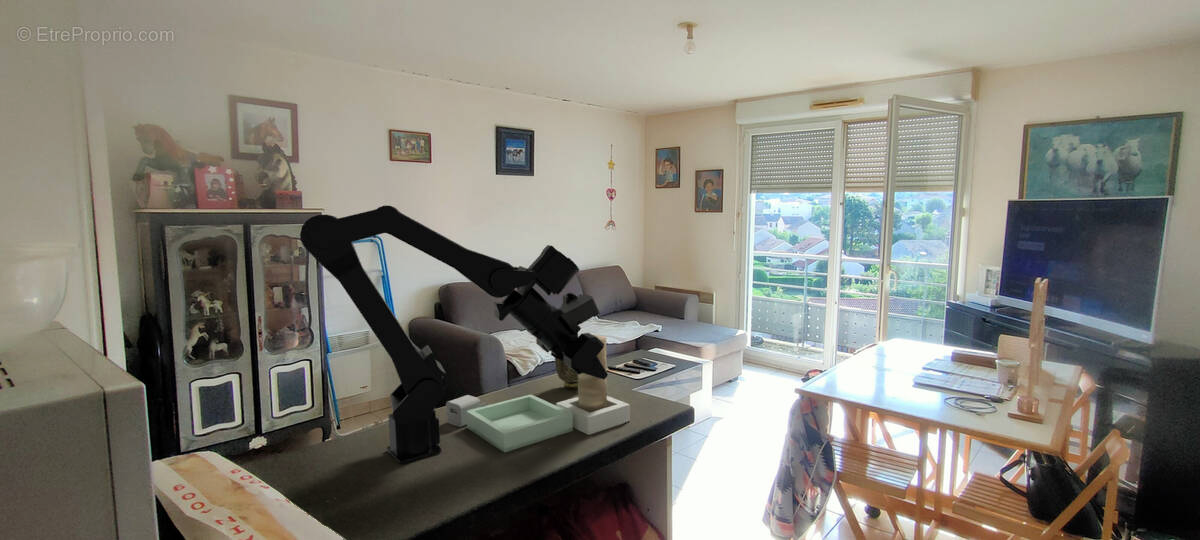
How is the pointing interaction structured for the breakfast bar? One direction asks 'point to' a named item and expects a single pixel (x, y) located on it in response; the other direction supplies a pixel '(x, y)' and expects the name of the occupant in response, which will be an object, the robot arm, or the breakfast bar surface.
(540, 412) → the pale green tray
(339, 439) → the breakfast bar surface
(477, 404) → the usb wall charger
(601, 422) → the white square frame
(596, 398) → the beech dowel
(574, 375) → the cup
